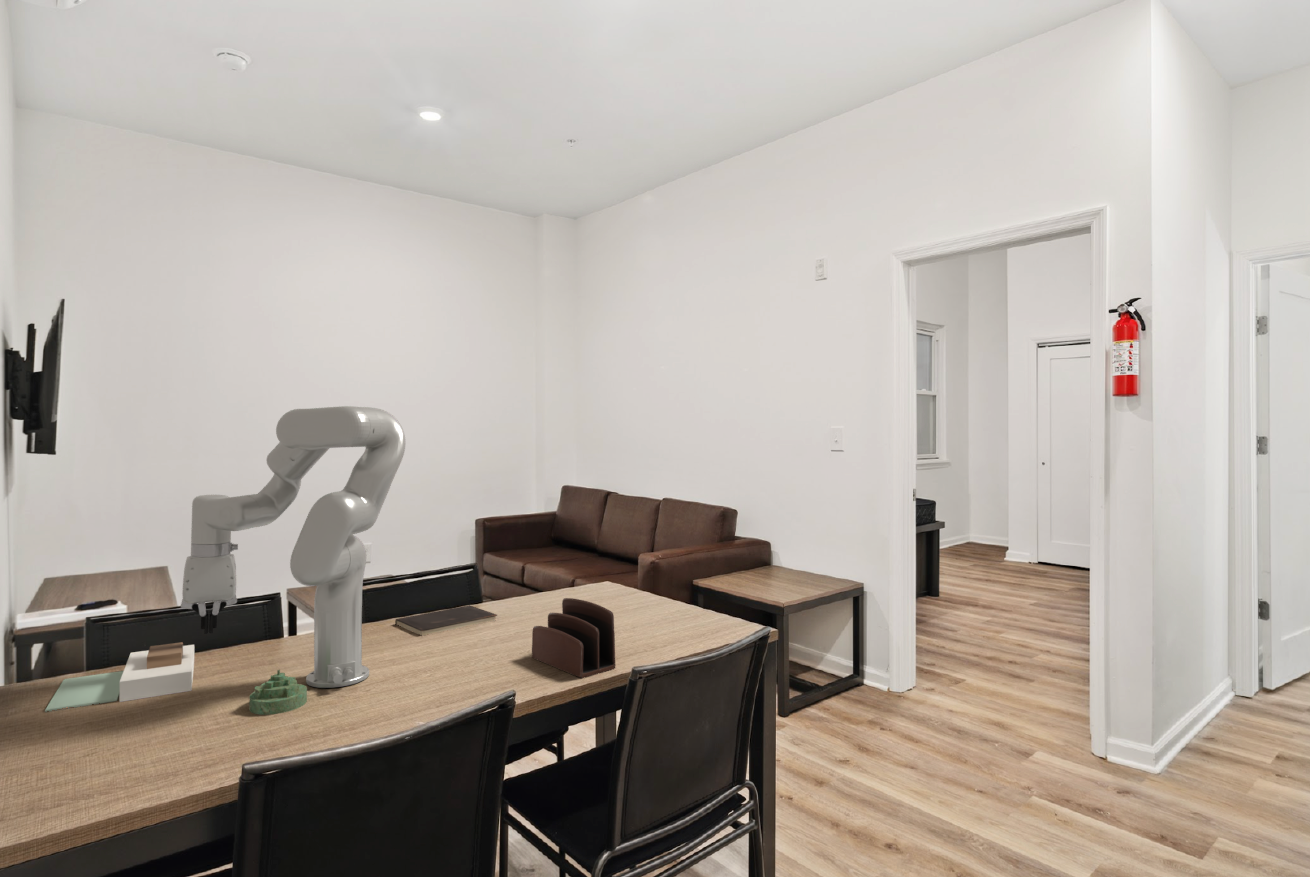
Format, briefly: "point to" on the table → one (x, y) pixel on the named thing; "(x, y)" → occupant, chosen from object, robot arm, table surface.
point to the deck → (156, 676)
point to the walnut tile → (165, 655)
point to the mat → (86, 691)
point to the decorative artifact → (277, 695)
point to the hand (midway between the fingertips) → (208, 632)
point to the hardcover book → (445, 620)
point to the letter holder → (577, 639)
